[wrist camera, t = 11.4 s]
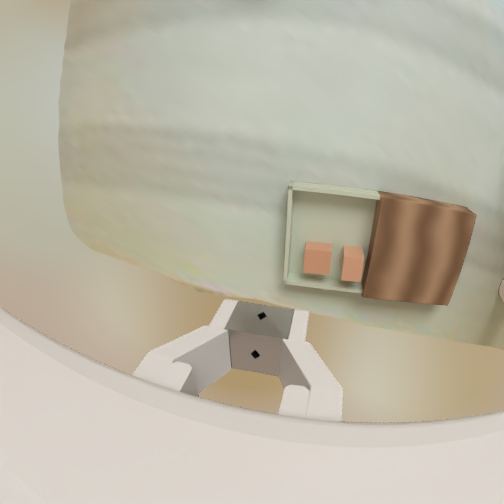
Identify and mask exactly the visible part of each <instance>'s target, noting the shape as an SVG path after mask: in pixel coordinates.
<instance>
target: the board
mask: <svg viewBox="0 0 504 504" xmlns="http://www.w3.org/2000/svg"><path fill="white" fill-rule="evenodd" d="M377 192H378V193H379V195H380V200H376V207H375V214H374V220H373V226H372V232H371V238H370V243H369V249H368V254H367V259H366V264H365V268H364V273H363V278H362V282H361V283H362V290H363V291H362V297H365V298H374V299H384V300H393V301H403V302H414V303H424V304H435V305H447V306H448V304H449V301H450V299H451V296H452V294H453V291H454V288H455V286H456V283H457V280H458V277H459V274H460V272H461V269H462V266H463V263H464V259H465V256H466V253H467V250H468V246H469V243H470V239H471V236H472V232H473V228H474V224H475V220H476V214H474V213H473V212H472V211H470V210H469V209H468V208H466V207H463V206H458V205H454V204H449V203H444V202H439V201H434V200H429V199H423V198H418V197H412V196H406V195H400V194H394V193H387V192H381V191H377Z"/></svg>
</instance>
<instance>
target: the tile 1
mask: <svg viewBox="0 0 504 504" xmlns="http://www.w3.org/2000/svg"><path fill="white" fill-rule="evenodd" d="M331 254H332V243H323V242H310V241H307V242H306V246H305V256H304V273H311V274H322V275H329V273H330V263H331Z"/></svg>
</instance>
